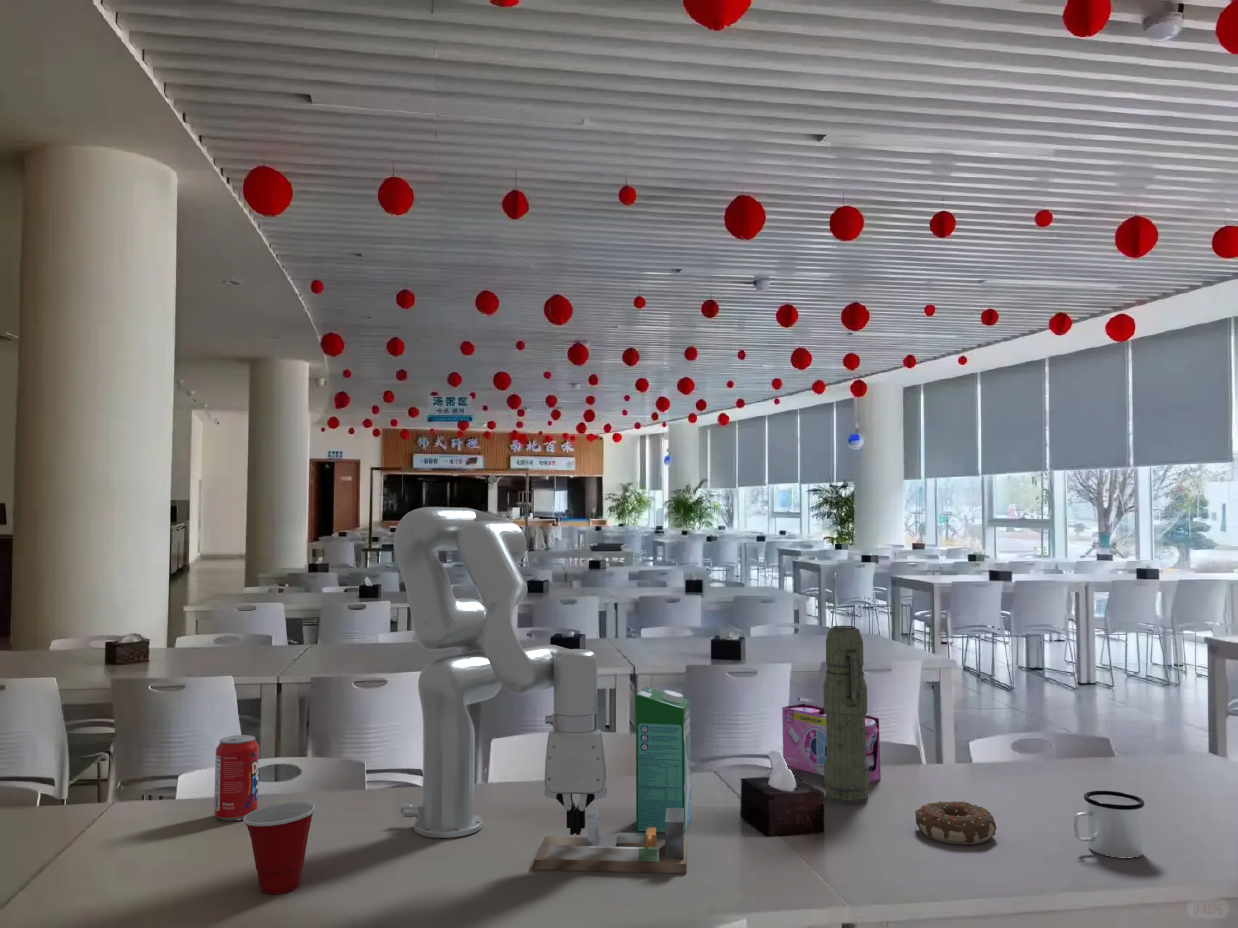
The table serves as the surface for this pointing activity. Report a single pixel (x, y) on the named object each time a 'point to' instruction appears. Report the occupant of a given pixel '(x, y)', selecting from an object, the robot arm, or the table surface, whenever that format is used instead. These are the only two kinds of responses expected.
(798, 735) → the gum box
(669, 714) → the milk carton
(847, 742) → the thermos
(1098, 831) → the mug
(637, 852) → the base
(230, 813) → the soda can
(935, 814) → the donut
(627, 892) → the table surface
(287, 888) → the plastic cup
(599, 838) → the plunger
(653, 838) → the pointer
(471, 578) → the robot arm
